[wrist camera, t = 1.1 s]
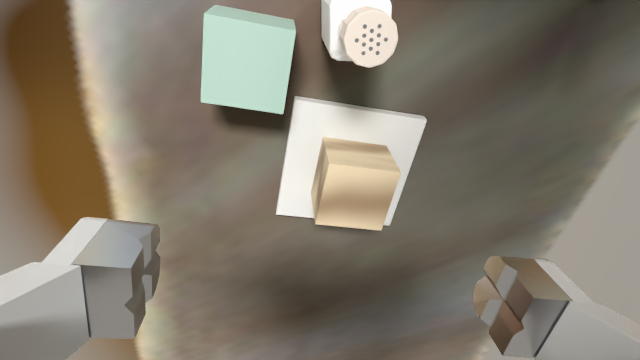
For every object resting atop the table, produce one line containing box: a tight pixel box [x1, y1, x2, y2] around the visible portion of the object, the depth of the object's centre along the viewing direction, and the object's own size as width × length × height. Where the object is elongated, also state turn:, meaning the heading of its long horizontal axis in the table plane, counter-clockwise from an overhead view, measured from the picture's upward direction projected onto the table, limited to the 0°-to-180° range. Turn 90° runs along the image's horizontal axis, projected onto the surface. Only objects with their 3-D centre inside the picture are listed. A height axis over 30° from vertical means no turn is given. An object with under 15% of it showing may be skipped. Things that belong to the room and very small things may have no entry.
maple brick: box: [311, 137, 401, 231], centre depth 34 cm, size 6×6×5 cm
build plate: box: [276, 96, 427, 226], centre depth 36 cm, size 12×12×1 cm
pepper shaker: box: [321, 0, 398, 68], centre depth 26 cm, size 4×4×10 cm
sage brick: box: [201, 5, 296, 114], centre depth 28 cm, size 6×6×5 cm
